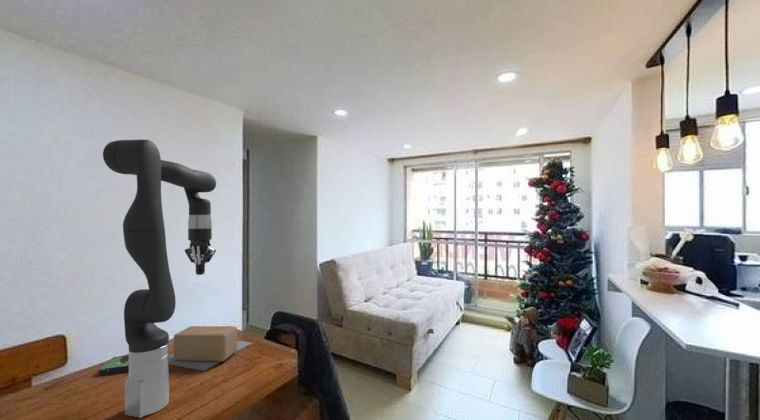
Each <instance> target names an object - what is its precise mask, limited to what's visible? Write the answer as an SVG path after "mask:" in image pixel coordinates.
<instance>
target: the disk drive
mask: <svg viewBox="0 0 760 420" xmlns="http://www.w3.org/2000/svg"><path fill="white" fill-rule="evenodd" d="M122 373H129V354H128V355H120V356H113V357H112V358H111V359H110V360H108V361H107V362H106V363H105V364H103V366H102V367H100V368H99V369H98V374H97V375H98V376H99V377H100V376H107V375H113V374H122Z"/></svg>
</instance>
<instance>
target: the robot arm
mask: <svg viewBox="0 0 760 420" xmlns="http://www.w3.org/2000/svg"><path fill="white" fill-rule="evenodd" d="M102 158H103V161H104V163H105V164H106V166H107V167H108V169H110V170H111V171H113V172H114V173H117V174H121V175H133V176H136V186H137V187H136V194H135V197H134V199H133V202H132V203H131V205H130V207H129V208H128V211H127V212H126V214H125V216H124V219H123V222H122V232H123V239H124V241H123V242H124V245H125V249H126V251H127V254H129V256H130V257H131V259H132V260H133V261H134V262H135V264H136V265H137V266H138V267H139V269H141V271H142V273H143V274H144V275H145V278H146V281H147V285H148V289H146V288H145V289H137V290H134V291H132V292H130V294H129V295H128V297H127V298H126V300H125V304H124V308H123V322H124V336H125V341H126V343H127V346H128V355H129V372H128V378H126V379H125V380H124V415H126V416H129V417H133V416H134V418H137V417H138V418H137V419H142V418H144V417H146V416H150V415H152V414H155V413H156V412H160V411H161V410H162V409H164V408H165V407H167V405H168V404H169V402H170V364H169V356H170V350H169V349H170V340H169V339H170V337H169V336H170V335H169V333H168V332H167V331H166V330H164V329H162V328H160V327H158V326H157V325H156V324H157V323H165V322H167V321H168V320H169V321H170V320H171V318H172V317H173V315H174V313H175V310H176V304H177V303H176V302H177V301H176V293H175V288H174V284H173V280H172V275H171V271H170V265H169V259H168V253H167V252H168V251H167V240H166V239H167V238H166V229H165V221H164V214H163V213H164V212H163V205H162V204H163V202H162V182H165V183H167V184H170V185H171V184H172V185H173V186H176V187H179V188H183V189H184V192H185V196H186V199H187V203H188V220H187V232H188V233H187V240H188V241H190V242H189V247H188V248H186V249H184V252H185V254H186V256H187V258H188V260H189V261H190V263H193V264H194V265H195V274H196V275H197V276H201V275H204V274H205V273H206V272H205V271H206V268H205V267H206V266H205V265H206V264H207V263H210V261H211V260H212V258H213V257H214V256H215V253H216V252H217V251H216V250H217V249H215V248H212V247H211V246H212V245H211V242H210V240H212V238H213V237H212V234H213V233H212V229H213V227H212V224H213V223H212V222H213V221H212V216H211V215H212V211H211V209H212V207H211V205H212V204H211V201H210V200H209V199H206V198H201V196H200V194H199V193H211V192H212V191H214V190H215V188H216V187H217V180H216V178H215V177H214V176H213V175H212V174H211V173H209V172H206V171H201V170H197V169H193V168H190V167H188V166H185V165H183V164H181V163H178V162H174V161H170V160H169V161H168V160H162V159H161V154H160V150H159V148H158V147H157V145H156V144H155V143H154V141H152V140H149V139H117V140H114V141H110V142H109V143H107V144H105V146H104V149H103V151H102ZM155 323H156V324H155Z"/></svg>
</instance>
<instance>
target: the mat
mask: <svg viewBox="0 0 760 420" xmlns="http://www.w3.org/2000/svg"><path fill="white" fill-rule="evenodd" d="M249 345H250V346H252V345H253V342H250V341H243V340H242V341H241V340H237V351H236V352H235V353H234V355H235V354H238V353H239V352H240V350H241V349H243V348H244V349H246V348H248V347H249ZM247 346H248V347H247ZM245 347H246V348H245ZM244 349H243V350H244ZM238 351H239V352H238ZM241 351H242V350H241ZM231 356H233V354H232V355H231ZM231 356H230V357H231ZM219 363H222V361H175V360H174V353H173V354H172V355H169V366H176V367H180V368H181V367H182V368H187V369H192V370H198V371H203V372H205V371H206V370H208V369H210V368H212V367H214V366H215V365H217V364H219Z"/></svg>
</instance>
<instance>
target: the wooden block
mask: <svg viewBox="0 0 760 420" xmlns="http://www.w3.org/2000/svg"><path fill="white" fill-rule="evenodd" d="M237 341H238V327H237V326H232V325H231V326H225V325H224V326H221V325H220V326H219V325H216V326H215V325H212V326H211V325H209V326H207V325H206V326H205V325H202V326H201V325H199V326H198V325H197V326H196V325H191V326H188V327H186V328H184V329H183V330H181V331H178V332H177V333H175V334H174V335H173V354H174V360H175V361H221V362H224V361H227V359H229V358H230V357H231V355H232V354H234V353H235V352H236V351H237ZM235 354H236V353H235ZM235 354H234V355H235ZM232 356H233V355H232Z"/></svg>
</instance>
